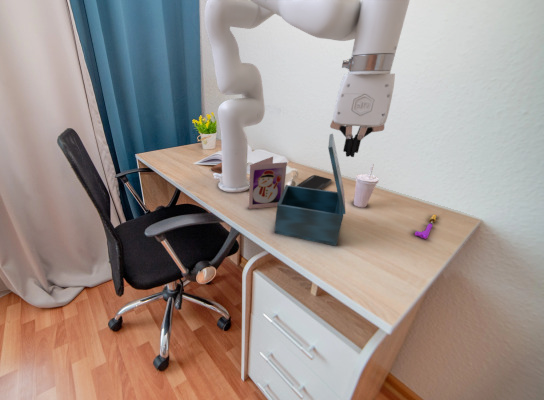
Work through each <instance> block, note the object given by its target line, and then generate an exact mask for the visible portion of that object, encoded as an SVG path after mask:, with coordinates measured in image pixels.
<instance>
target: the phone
mask: <svg viewBox="0 0 544 400" xmlns="http://www.w3.org/2000/svg"><path fill="white" fill-rule="evenodd" d="M331 183H332V179H331V178H328V177H325V176H320V175H316V174H313V175H311V176H309V177H308V178H306V179H305V180H303V181H302V182H300V183H298V184H297V185H296V186H297V187H304V188H312V189H319V190H324V189H325V188H326V187H327V186H328V185H331Z"/></svg>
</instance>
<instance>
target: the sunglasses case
mask: <svg viewBox="0 0 544 400" xmlns="http://www.w3.org/2000/svg"><path fill="white" fill-rule="evenodd" d="M210 169H211V170H212V171H213V172H214V173H219V174H221V173H222V161H221V162H219V163H217V164H215V165H213V166H212V167H211V168H210Z"/></svg>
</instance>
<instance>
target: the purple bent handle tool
mask: <svg viewBox="0 0 544 400" xmlns="http://www.w3.org/2000/svg"><path fill="white" fill-rule="evenodd" d="M437 217H438V214H432V215H431V217H430V219H429V221H430V222H429V223H427V225H426V228H425V229H424V230H422V231H418V230H417V231H415V233H414V236H415V237H420V238H421V239H424V240H426V239H428V237H429V236H430V232H431V230H432V228H433V223H435V222H436V220H437Z"/></svg>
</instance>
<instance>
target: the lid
mask: <svg viewBox="0 0 544 400" xmlns="http://www.w3.org/2000/svg"><path fill="white" fill-rule="evenodd" d="M334 138H335V137H334V134H333V133H329V137H328V147H327V148H328V154H329V159H330V164H331V168H332V174H333V177H334V183H335V187H336V192H337V193H338V198H339V203H340V208H341V212H342V215H343V216H344V215H346V213H347V212H346V198H345V189H344V182H343V178H342V177H343V176H342V173H341V168H340V163H339V157H338V153H337V147H336V142H335V139H334Z"/></svg>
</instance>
